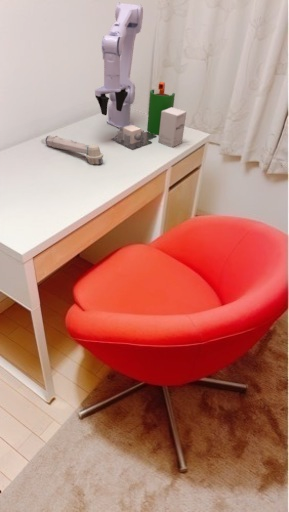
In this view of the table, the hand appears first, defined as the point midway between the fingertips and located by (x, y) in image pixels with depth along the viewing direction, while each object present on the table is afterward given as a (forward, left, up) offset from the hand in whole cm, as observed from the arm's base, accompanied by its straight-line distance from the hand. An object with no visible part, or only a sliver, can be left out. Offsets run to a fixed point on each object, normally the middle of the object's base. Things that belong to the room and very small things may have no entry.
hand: (111, 112), depth 137 cm
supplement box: (+17, +17, -11) cm, 26 cm away
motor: (+6, +22, -11) cm, 25 cm away
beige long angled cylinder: (+3, -20, -11) cm, 23 cm away
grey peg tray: (+7, +8, -10) cm, 15 cm away
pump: (+7, +5, -10) cm, 13 cm away
